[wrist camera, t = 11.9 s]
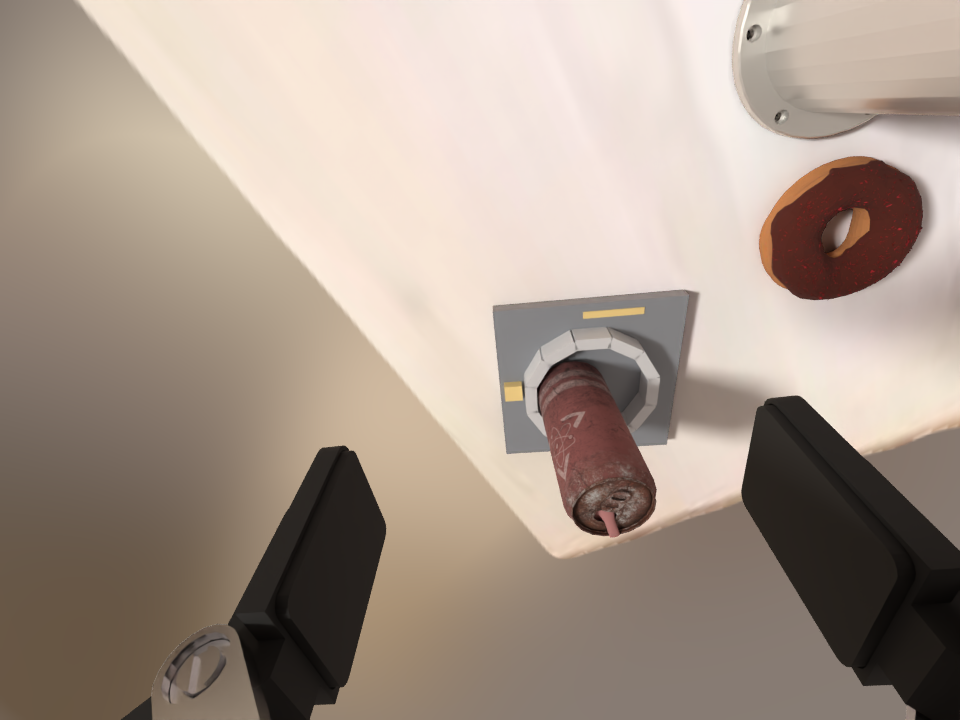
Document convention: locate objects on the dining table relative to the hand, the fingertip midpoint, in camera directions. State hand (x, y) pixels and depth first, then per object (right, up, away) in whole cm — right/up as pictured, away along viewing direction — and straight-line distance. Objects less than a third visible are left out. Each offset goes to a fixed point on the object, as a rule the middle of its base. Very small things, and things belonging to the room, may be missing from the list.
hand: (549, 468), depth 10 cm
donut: (+25, +13, +23) cm, 36 cm away
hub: (+8, +1, +30) cm, 32 cm away
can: (+7, 0, +30) cm, 30 cm away
